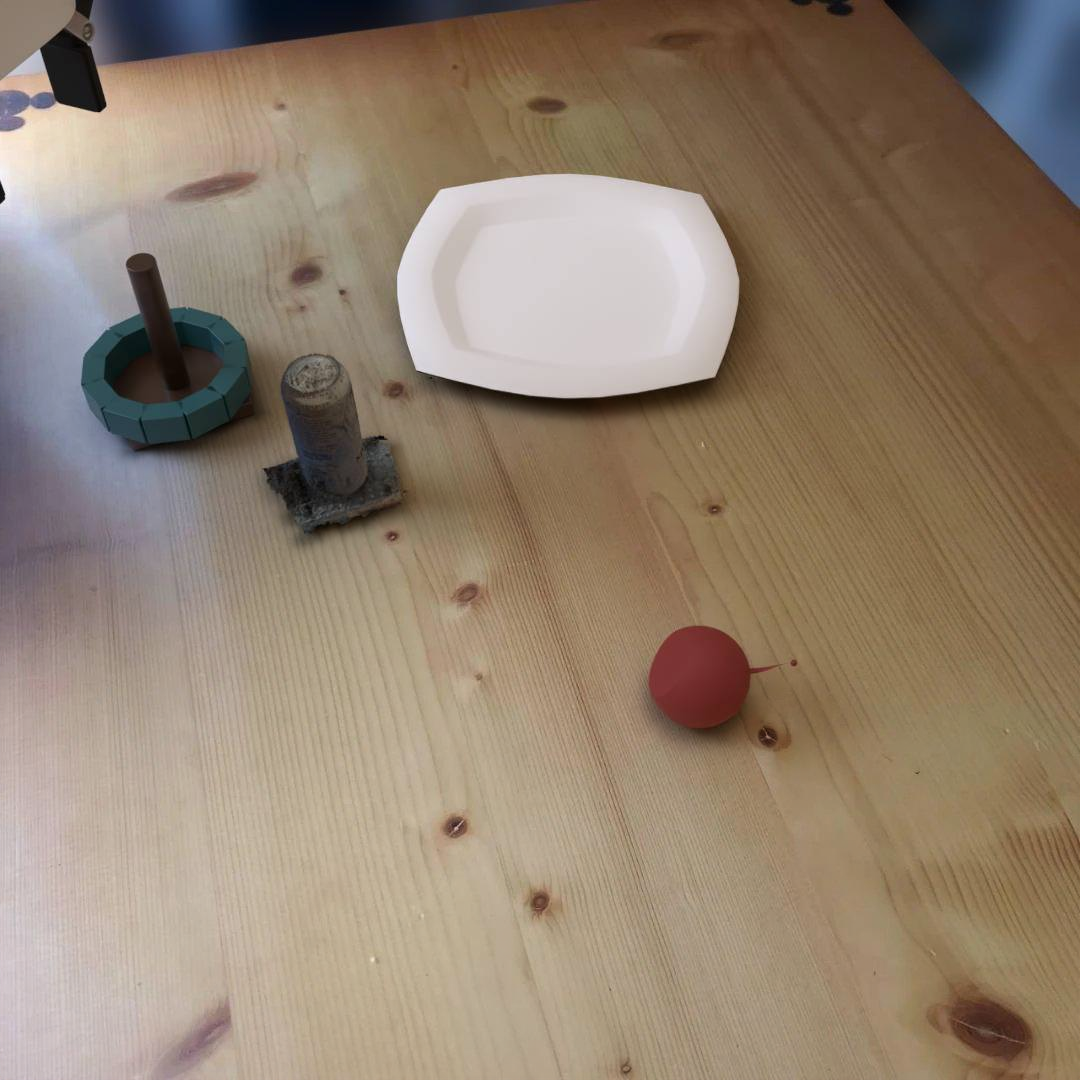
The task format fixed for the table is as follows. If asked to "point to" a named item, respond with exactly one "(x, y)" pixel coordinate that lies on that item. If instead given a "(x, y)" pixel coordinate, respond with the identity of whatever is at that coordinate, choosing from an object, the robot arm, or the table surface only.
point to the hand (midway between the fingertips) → (33, 150)
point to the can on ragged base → (330, 449)
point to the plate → (568, 287)
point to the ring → (167, 417)
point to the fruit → (701, 676)
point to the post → (164, 350)
